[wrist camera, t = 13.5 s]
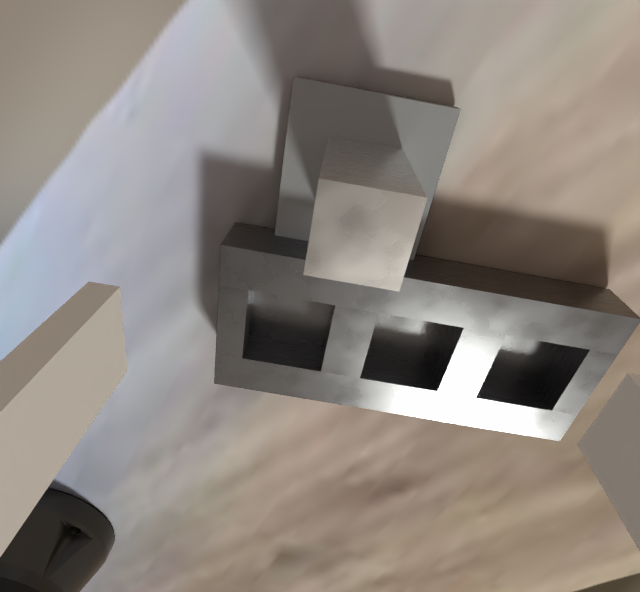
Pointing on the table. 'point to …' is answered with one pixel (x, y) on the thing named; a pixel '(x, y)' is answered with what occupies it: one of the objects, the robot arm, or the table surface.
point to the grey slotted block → (415, 338)
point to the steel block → (364, 214)
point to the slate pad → (360, 124)
